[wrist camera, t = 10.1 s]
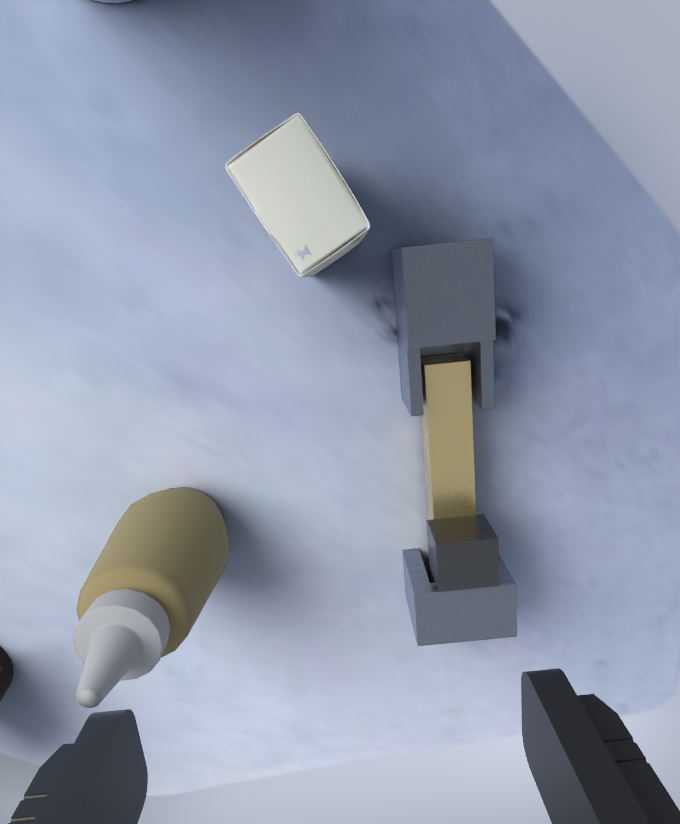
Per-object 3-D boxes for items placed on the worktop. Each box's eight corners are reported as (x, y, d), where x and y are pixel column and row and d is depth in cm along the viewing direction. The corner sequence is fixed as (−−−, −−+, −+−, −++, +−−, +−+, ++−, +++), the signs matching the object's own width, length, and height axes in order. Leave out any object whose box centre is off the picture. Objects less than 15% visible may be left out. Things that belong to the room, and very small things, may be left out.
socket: (402, 550, 44) (414, 593, 38) (491, 541, 44) (515, 583, 38) (406, 596, 45) (417, 646, 39) (492, 588, 45) (516, 636, 39)
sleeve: (391, 249, 38) (401, 247, 33) (469, 241, 38) (493, 238, 33) (401, 398, 41) (412, 418, 35) (475, 390, 41) (497, 410, 35)
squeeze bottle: (240, 476, 42) (178, 626, 25) (236, 571, 44) (176, 772, 27) (131, 468, 42) (-9, 614, 24) (132, 564, 44) (4, 763, 26)
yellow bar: (410, 358, 39) (426, 376, 33) (466, 352, 39) (493, 370, 33) (425, 583, 44) (441, 637, 38) (475, 578, 44) (500, 631, 38)
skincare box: (363, 241, 38) (378, 232, 26) (310, 278, 38) (302, 285, 27) (309, 156, 36) (299, 105, 25) (255, 195, 37) (220, 164, 25)
